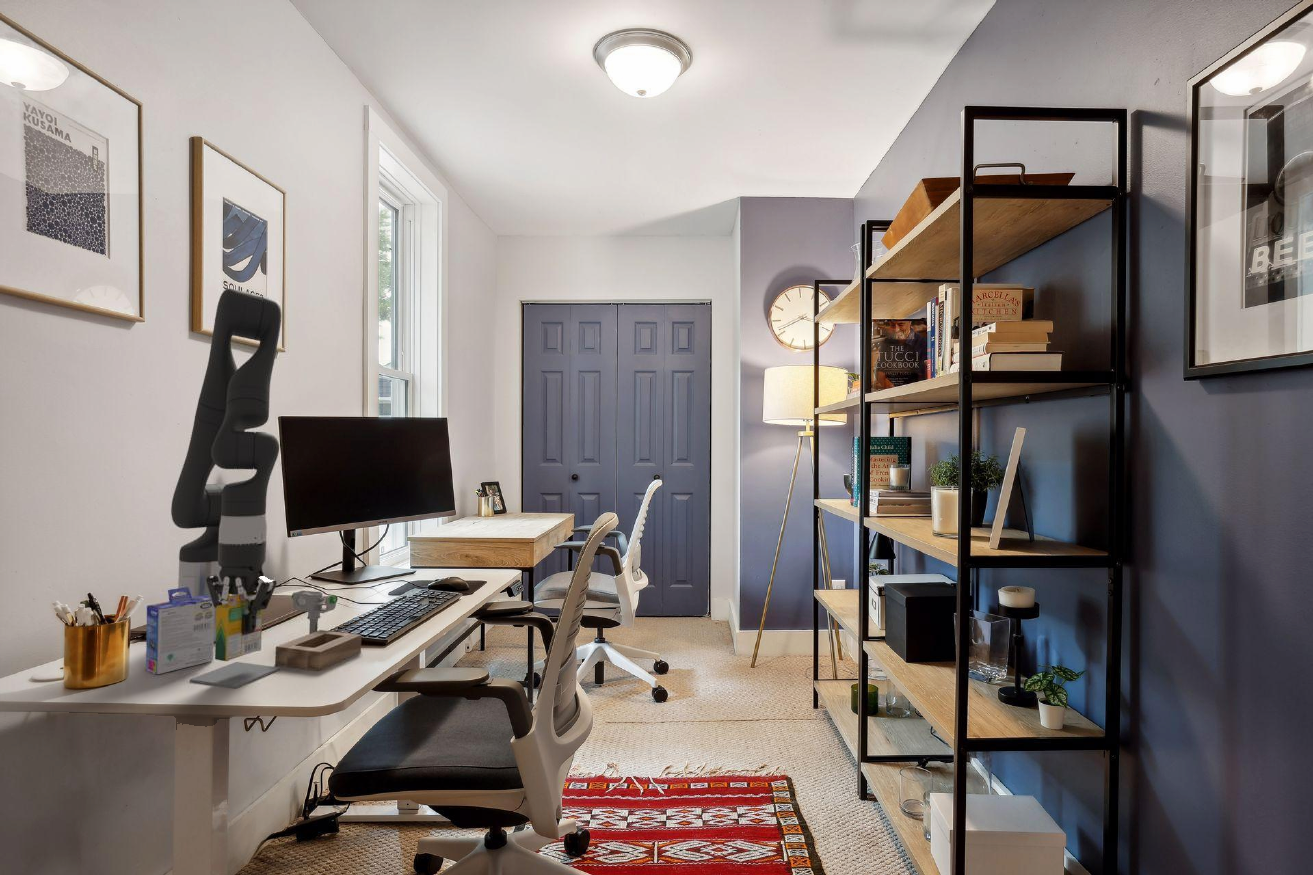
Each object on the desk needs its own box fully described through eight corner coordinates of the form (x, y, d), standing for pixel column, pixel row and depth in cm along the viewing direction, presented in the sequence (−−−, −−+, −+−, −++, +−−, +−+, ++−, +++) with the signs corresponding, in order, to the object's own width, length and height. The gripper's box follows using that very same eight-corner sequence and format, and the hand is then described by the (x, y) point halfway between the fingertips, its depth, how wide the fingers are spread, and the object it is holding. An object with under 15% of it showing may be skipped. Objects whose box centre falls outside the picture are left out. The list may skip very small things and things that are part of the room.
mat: (189, 681, 119) (189, 679, 119) (236, 663, 129) (236, 661, 129) (236, 688, 117) (236, 685, 117) (280, 669, 127) (280, 667, 127)
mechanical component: (328, 642, 144) (330, 596, 144) (287, 638, 146) (289, 592, 146) (338, 639, 147) (339, 593, 147) (297, 634, 149) (299, 589, 149)
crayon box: (250, 647, 127) (252, 587, 127) (261, 650, 126) (264, 588, 126) (213, 659, 120) (216, 595, 120) (225, 661, 119) (228, 597, 119)
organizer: (275, 664, 129) (275, 646, 129) (319, 646, 141) (320, 629, 141) (319, 670, 127) (320, 652, 127) (360, 651, 139) (361, 634, 139)
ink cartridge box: (200, 655, 133) (203, 583, 133) (215, 661, 130) (218, 587, 130) (142, 669, 124) (145, 591, 124) (156, 675, 122) (160, 596, 122)
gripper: (193, 539, 121) (189, 634, 121) (258, 544, 118) (255, 641, 118) (228, 534, 129) (224, 623, 128) (290, 538, 125) (287, 630, 125)
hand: (239, 631), depth 123 cm, fingers closed on crayon box, 3 cm apart
